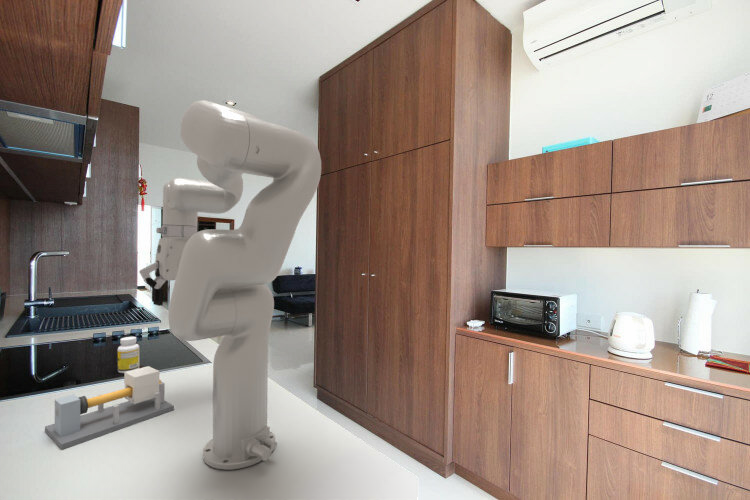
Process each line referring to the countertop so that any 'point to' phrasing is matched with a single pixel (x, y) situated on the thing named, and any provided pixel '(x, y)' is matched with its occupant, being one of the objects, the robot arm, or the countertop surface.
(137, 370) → the white sliding carriage
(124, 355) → the supplement bottle
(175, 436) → the countertop surface
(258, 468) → the countertop surface
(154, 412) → the linear actuator
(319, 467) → the countertop surface
